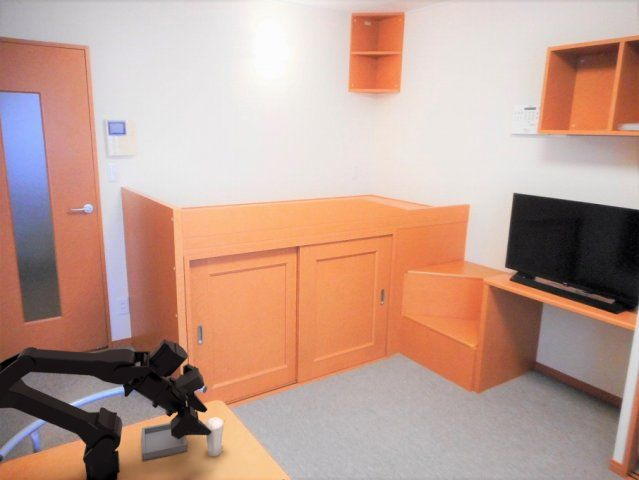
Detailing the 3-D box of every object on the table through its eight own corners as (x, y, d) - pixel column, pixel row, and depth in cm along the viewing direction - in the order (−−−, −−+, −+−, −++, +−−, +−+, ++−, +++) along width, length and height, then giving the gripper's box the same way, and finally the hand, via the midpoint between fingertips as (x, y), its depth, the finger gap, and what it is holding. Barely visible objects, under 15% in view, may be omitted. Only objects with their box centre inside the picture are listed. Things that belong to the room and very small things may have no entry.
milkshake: (222, 460, 114) (221, 424, 111) (202, 457, 115) (201, 421, 112) (230, 448, 118) (229, 413, 116) (210, 444, 119) (209, 410, 117)
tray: (142, 461, 113) (142, 453, 112) (142, 434, 122) (141, 428, 122) (187, 451, 117) (186, 444, 116) (183, 426, 126) (182, 420, 126)
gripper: (184, 383, 99) (237, 419, 106) (179, 344, 116) (225, 377, 123) (147, 423, 99) (203, 456, 105) (148, 378, 116) (196, 409, 122)
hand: (208, 421), depth 114 cm, fingers open, 9 cm apart
